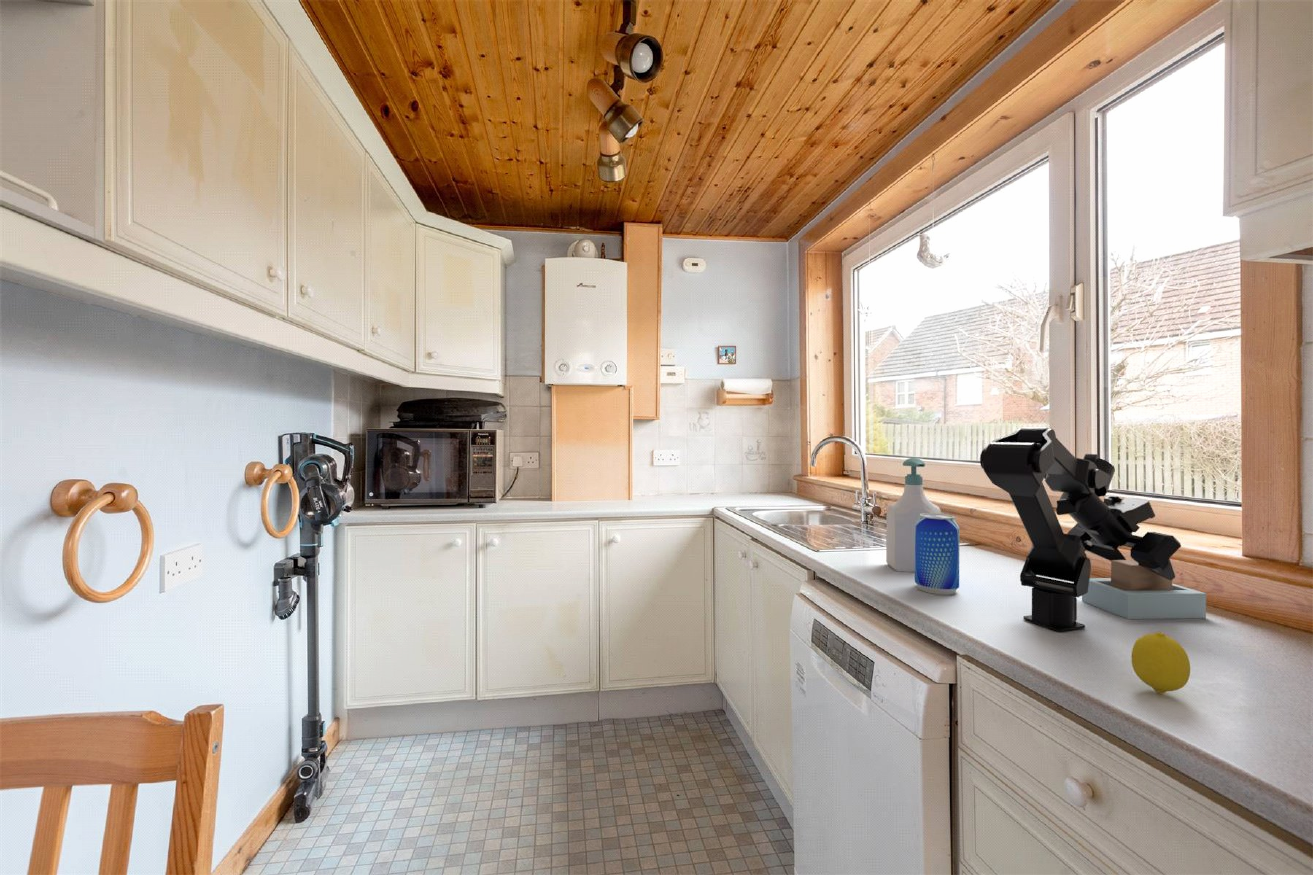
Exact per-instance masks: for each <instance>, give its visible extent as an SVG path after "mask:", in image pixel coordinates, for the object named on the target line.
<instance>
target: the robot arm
mask: <svg viewBox="0 0 1313 875" xmlns="http://www.w3.org/2000/svg"><path fill="white" fill-rule="evenodd" d="M979 455H980V457H979V462H980V467H981V468H982V469H983V472H984V473H985V475H986V476H987V478H988V479H989V481H990V482H991V483H992V485H994V486H997V487H998V488H1000V489H1001V490H1003V491H1004V492H1006V493H1007V494H1008V495H1009V496H1010V499H1011V501H1012V503H1013V505H1014V507H1015V509H1016V510H1015V511H1016V512H1017V515H1018V516H1019V518H1020V521H1021V523H1022V525H1023V527H1024V529H1025V531H1026V534H1027V535H1028V538H1029V540H1030V542H1031V547H1030V549H1029V551H1028V554H1027V556H1026V558H1025V562H1024V564H1023V566H1022V569H1021V572H1020V575H1019V578H1020V585H1021V586H1023V587H1029V588H1030V587H1031V614H1029V615H1024V616H1023V618H1022V619H1023V620H1025V621H1027V622H1030V623H1032V624H1036V625H1037V626H1041V627H1044V628H1046V629H1049V630H1053V631H1055V632H1067V631H1073V630H1074V631H1075V630H1080V629H1086V624H1084V623H1080V622H1079V621H1077V620H1078V614H1077V613H1078V606H1077V605H1078V602H1077V601H1078V600H1077V598H1080V597H1082V595H1084V594H1086V593H1088V586H1089V579H1090V576H1091V571H1092V563H1091V559H1090V557H1088V556H1087V553H1086V552H1088V553H1090V554H1091V555H1095V556H1097V557H1100V558H1101V559H1104V560H1106V561H1109V562H1111V560H1127V559H1126V557H1125V556H1124V555H1123V554H1122V552H1121V551H1120V550H1119V547H1126V548H1130V554H1129V556H1130V558H1132V560H1135V561H1136V562H1138V563H1139V564H1138V565H1140V566H1142V567H1144V568H1146V569H1148V570H1150V571H1152V572H1154V573H1156V574H1158V575H1160V576H1162V577H1164V578H1166V579H1168V580H1172V581H1173V580H1174V579H1175V578H1176V573H1175V572H1174V568H1173V564H1172V562H1171V559H1170V558H1172V556H1173V555H1174V554H1175V553H1176V552H1177V551H1178V550H1179V549H1180V548H1181V547H1182V545H1181V542H1180V541H1179V540H1178V539H1177V538H1176V537H1175V536H1174V535H1171V534H1168V533H1167V534H1166V533H1162V532H1161V533H1160V532H1156V531H1147V532H1146V533H1145V534H1144V535H1143V536H1139V535H1135V534H1133V533H1137V531H1139V529H1140V528H1141V527H1140V526H1139V524H1141V523H1143V522H1145V521H1147V520H1149V519H1151V520H1152V519H1154V518H1155V517H1156V513H1155V511H1154V509H1153V507H1152V505H1151V502H1150V500H1148V499H1146V498H1145V499H1143V498H1137V497H1136V498H1135V497H1119V496H1117V495H1116V496H1115V495H1108V496H1106V495H1107V492H1108V491H1109V488H1110V485H1111V482H1112V480H1113V477H1114V475H1115V473H1116V472H1115V471H1116V468H1115V465H1112V463H1110V462H1109V461H1108V460H1106V459H1102V458H1100V457H1099V454H1097V453H1094V454H1093V453H1085V455H1084V456H1083V458H1080V457H1076V456H1074V455H1073V454H1072V453H1071V452H1070V450H1069V449H1067V448H1066V446H1065V445H1064V444H1063V443H1062V442H1060V440H1059V439H1058V438H1057V435H1056V432H1055V430H1054V429H1053V428H1049V427H1021V428H1018V429H1015V431H1013V432H1012V433H1011V434H1007V435H1005V436H1002V437H999V438H996V439H994V440H992V441H991V442H990V443H988V445H986V446H985V447H984V448H983V449H982V450H981V453H980V454H979ZM1044 479H1045V480H1044ZM1043 481H1045V483H1046V485H1047V486H1048V487H1049V489H1050V490H1051V491H1052V492H1054V493H1055V492H1056V493H1062V494H1061V495H1060V498H1059V499H1058V500H1056V508H1055V509H1054V507H1053V504H1052V502H1051V500H1050V498H1049V495H1048V493H1047V490H1046V487H1045V486H1044V483H1043ZM1105 496H1106V497H1105ZM1100 497H1103V500H1102V499H1101V498H1100ZM1064 515H1069V516H1070V517H1071V518H1072V519H1073V520H1074V521H1075V522H1076V524H1074V526H1073V527H1072V528H1071V529H1070V530H1069V531H1068V532H1067V533H1064V531H1063V528H1062V526H1061V523H1060V521H1059V519H1058V516H1064Z"/></svg>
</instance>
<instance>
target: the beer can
mask: <svg viewBox="0 0 1313 875" xmlns="http://www.w3.org/2000/svg"><path fill="white" fill-rule="evenodd" d="M914 583H915V584H916V585H917V587H918V589H919V590H921V591H923V592H924V593H928V594H933V595H941V596H942V595H943V596H945V595H946V596H948V595H950V596H951V595H953V594H955V593H956V591H957V590H958V589H959V588H960V526H959V524H958V523H957V521H956V520H955V516H954V515H951V514H947V513H941V514H938V513H923V514H920V518H919V519H918V521H917V522H916V524H915V572H914Z"/></svg>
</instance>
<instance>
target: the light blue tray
mask: <svg viewBox="0 0 1313 875" xmlns="http://www.w3.org/2000/svg"><path fill="white" fill-rule="evenodd" d="M1081 602H1084V603H1085V604H1089V605H1091V606H1094V607H1096V608H1100V609H1102V610H1104V611H1106V612H1109V613H1111V614H1113V615H1114V614H1115V615H1116V616H1119V617H1122V618H1124V619H1127V620H1148V619H1149V620H1153V619H1155V620H1157V619H1164V620H1165V619H1168V620H1169V619H1206V618H1207V593H1206V592H1202V591H1199V590H1196V589H1193V588H1189V587H1185V586H1183V585H1178V584H1175V583H1172V590H1150V591H1124V590H1121V589H1118V588H1115V587H1112V586H1111V577H1109V578H1108V577H1104V578H1103V577H1100V578H1096V577H1095V578H1094V577H1092V578H1090V579H1089V586H1088V593H1086V594H1084V595H1082V596H1081Z"/></svg>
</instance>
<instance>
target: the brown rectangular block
mask: <svg viewBox="0 0 1313 875" xmlns="http://www.w3.org/2000/svg"><path fill="white" fill-rule="evenodd" d="M1138 564H1139V563H1138V562H1136V561H1135V560H1134V559H1126V560H1111V561H1110V578H1111V586H1112V587H1115V588H1118V589H1121V590H1124V591H1150V590H1172V584H1173V580H1168V579H1166V578H1164V577H1162V576H1160V575H1158V574H1156V573H1154V572H1152V571H1150V570H1148V569H1146V568H1144V567H1142V566H1140V565H1138Z"/></svg>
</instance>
